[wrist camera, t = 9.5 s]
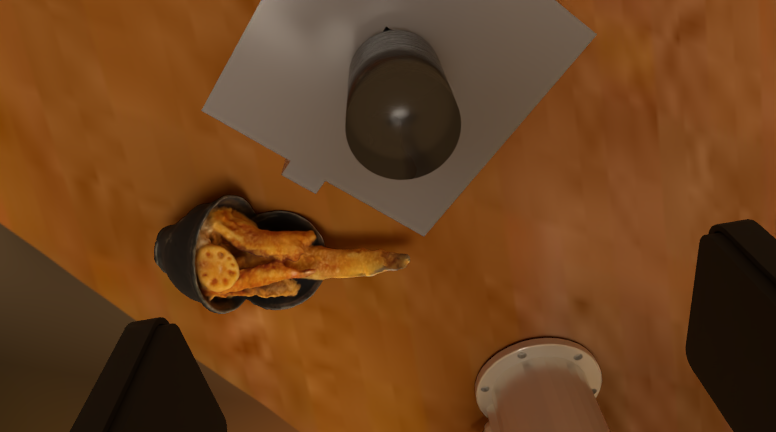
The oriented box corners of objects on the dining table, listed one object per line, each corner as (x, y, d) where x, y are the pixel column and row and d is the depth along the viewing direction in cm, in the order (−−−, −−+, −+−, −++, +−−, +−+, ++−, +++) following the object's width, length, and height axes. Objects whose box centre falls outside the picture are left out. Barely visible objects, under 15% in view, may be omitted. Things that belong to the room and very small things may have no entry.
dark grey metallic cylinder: (400, 100, 34) (427, 264, 20) (292, 29, 32) (235, 159, 18) (479, -8, 31) (577, 96, 17) (365, -96, 29) (369, -61, 14)
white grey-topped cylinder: (381, 133, 42) (392, 273, 27) (246, 48, 38) (175, 159, 24) (502, -33, 36) (596, 34, 21) (356, -151, 32) (351, -167, 18)
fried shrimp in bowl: (119, 201, 39) (362, 212, 33) (214, 183, 49) (412, 189, 43) (131, 327, 40) (365, 357, 35) (221, 284, 51) (412, 302, 45)
